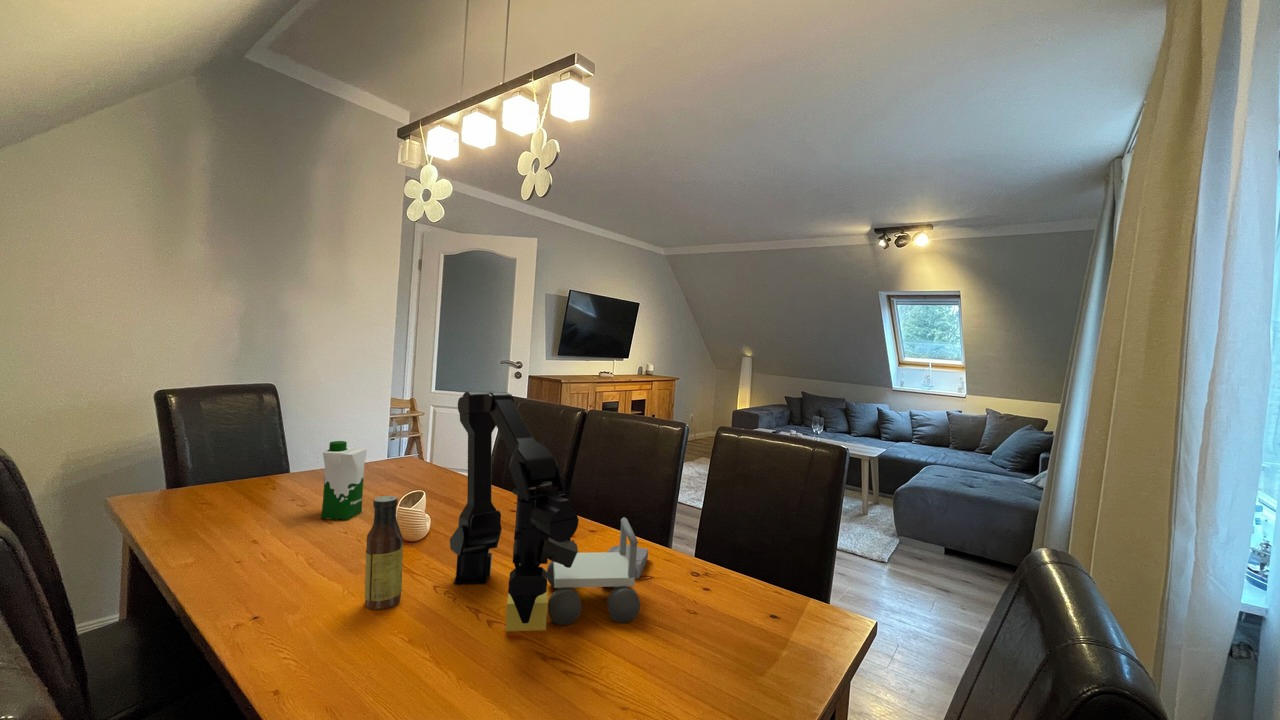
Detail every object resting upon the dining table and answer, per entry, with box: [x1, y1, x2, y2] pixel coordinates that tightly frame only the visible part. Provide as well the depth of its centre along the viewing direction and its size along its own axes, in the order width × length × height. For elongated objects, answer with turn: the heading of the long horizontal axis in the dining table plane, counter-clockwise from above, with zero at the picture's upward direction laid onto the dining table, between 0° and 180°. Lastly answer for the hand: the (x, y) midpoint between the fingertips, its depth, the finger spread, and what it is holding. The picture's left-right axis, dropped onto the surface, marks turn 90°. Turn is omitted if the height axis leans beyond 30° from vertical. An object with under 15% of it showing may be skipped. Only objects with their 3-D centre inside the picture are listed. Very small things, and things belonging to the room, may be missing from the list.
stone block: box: [606, 544, 649, 580], centre depth 120 cm, size 12×5×10 cm
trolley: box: [546, 517, 641, 626], centre depth 102 cm, size 17×16×15 cm
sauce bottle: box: [364, 495, 404, 611], centre depth 96 cm, size 6×6×20 cm
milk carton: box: [320, 440, 368, 521], centre depth 140 cm, size 9×9×20 cm
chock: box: [504, 591, 549, 632], centre depth 93 cm, size 7×4×5 cm, turn 101°
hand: (526, 609), depth 93 cm, fingers open, 9 cm apart
